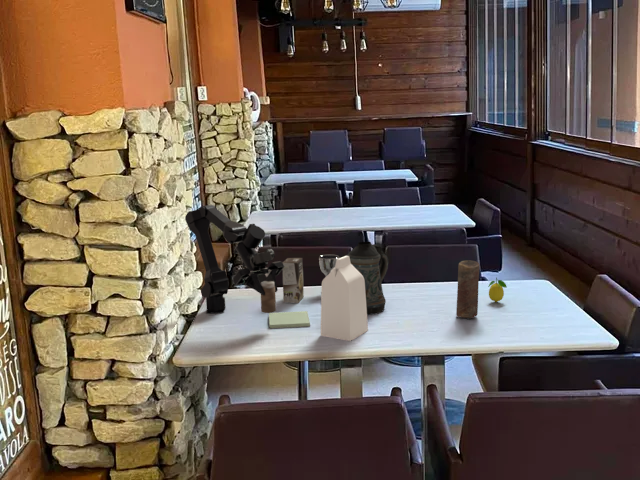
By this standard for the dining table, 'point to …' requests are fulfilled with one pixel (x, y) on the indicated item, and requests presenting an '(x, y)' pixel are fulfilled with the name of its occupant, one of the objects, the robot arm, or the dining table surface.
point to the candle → (467, 289)
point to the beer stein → (371, 273)
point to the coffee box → (293, 280)
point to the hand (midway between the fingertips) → (270, 292)
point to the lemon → (496, 290)
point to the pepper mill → (268, 297)
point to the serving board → (289, 319)
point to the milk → (343, 302)
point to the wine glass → (327, 263)
